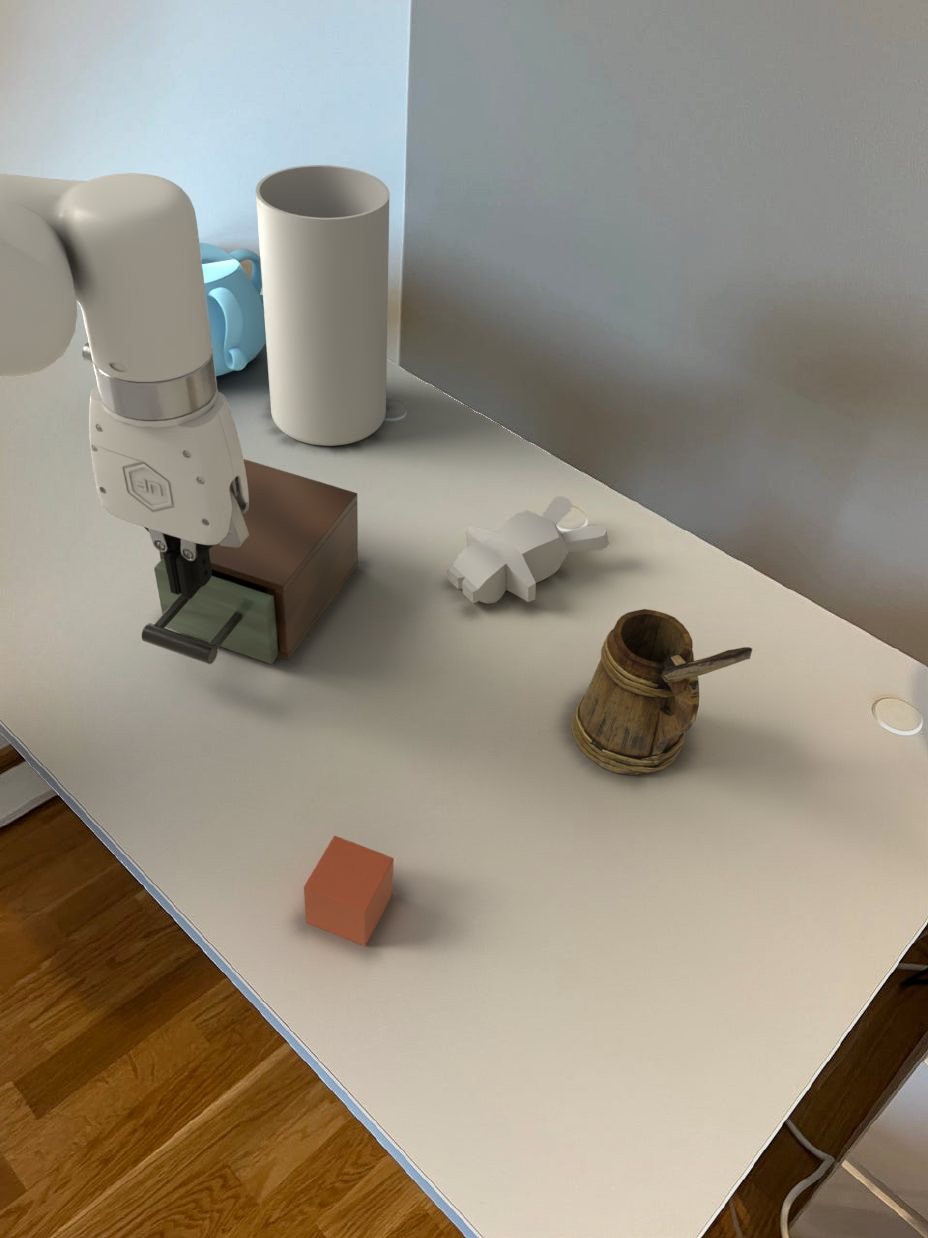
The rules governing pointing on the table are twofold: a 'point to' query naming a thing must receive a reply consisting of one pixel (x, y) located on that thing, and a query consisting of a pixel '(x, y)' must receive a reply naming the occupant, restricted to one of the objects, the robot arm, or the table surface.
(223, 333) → the decorative pot
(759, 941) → the table surface
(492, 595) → the bunny figurine
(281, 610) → the cabinet
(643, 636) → the wooden mug
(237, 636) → the drawer
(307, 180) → the cylinder vase
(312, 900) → the block
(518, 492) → the table surface
